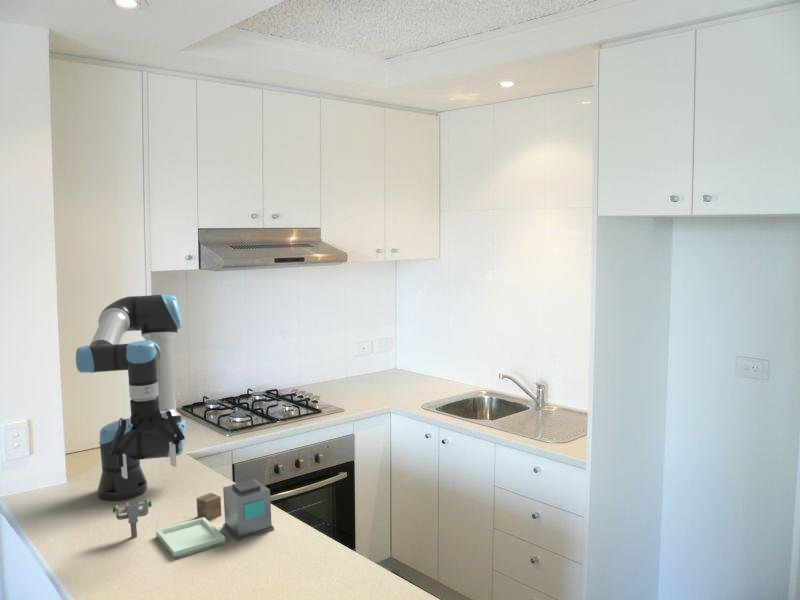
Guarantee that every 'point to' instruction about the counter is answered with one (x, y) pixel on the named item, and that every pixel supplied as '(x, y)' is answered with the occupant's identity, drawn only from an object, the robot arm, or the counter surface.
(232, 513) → the unit
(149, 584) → the counter surface
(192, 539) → the tray
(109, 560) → the counter surface
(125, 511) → the mechanical component
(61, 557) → the counter surface
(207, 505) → the walnut block
